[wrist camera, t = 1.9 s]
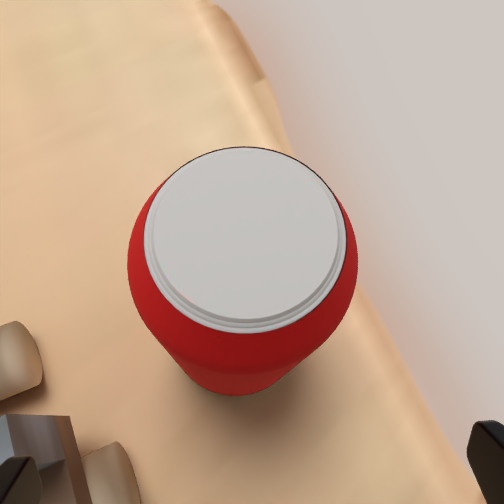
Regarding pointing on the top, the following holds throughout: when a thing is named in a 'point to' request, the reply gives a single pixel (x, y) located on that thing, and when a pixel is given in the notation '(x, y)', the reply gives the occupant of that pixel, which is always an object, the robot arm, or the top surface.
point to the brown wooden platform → (68, 462)
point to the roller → (18, 360)
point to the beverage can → (242, 266)
